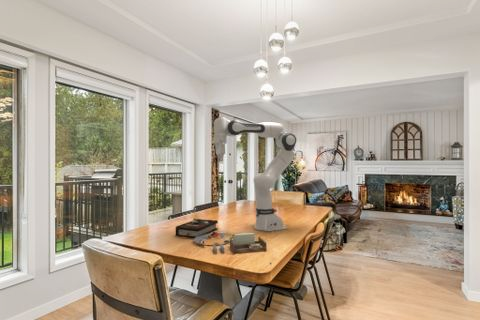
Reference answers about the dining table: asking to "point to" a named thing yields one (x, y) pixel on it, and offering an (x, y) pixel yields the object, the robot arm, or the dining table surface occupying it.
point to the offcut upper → (255, 245)
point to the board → (244, 238)
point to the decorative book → (196, 228)
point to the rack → (246, 248)
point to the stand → (216, 248)
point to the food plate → (214, 237)
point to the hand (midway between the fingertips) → (220, 161)
